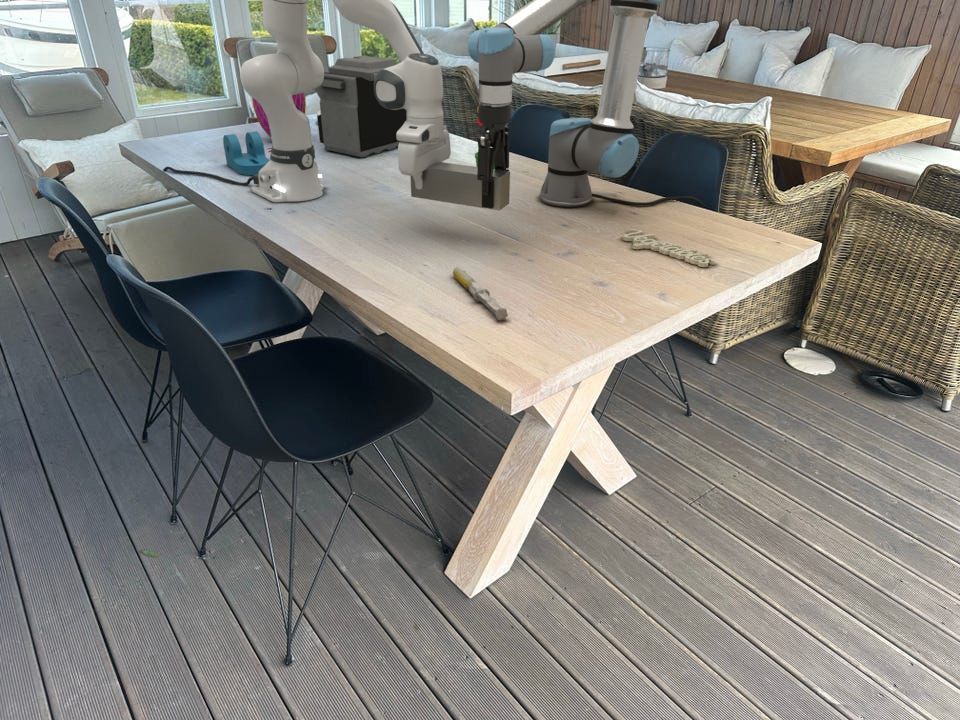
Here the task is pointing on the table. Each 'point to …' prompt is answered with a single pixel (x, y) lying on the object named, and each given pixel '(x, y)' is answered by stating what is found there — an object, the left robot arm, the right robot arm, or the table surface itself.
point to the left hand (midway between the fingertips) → (426, 184)
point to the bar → (461, 185)
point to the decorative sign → (667, 248)
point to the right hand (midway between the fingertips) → (493, 203)
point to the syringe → (479, 293)
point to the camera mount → (245, 161)
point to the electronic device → (356, 109)
